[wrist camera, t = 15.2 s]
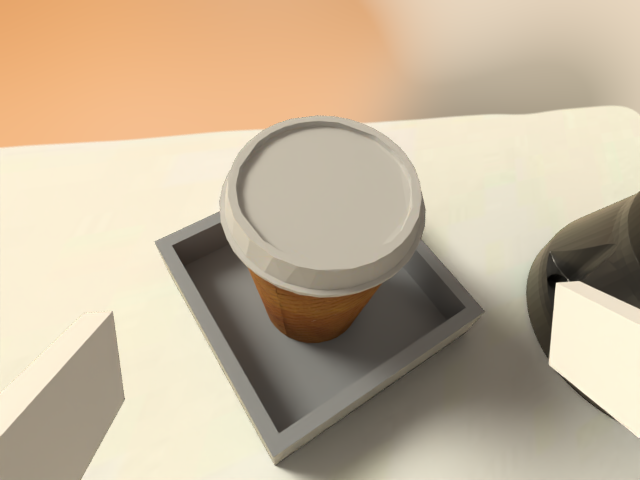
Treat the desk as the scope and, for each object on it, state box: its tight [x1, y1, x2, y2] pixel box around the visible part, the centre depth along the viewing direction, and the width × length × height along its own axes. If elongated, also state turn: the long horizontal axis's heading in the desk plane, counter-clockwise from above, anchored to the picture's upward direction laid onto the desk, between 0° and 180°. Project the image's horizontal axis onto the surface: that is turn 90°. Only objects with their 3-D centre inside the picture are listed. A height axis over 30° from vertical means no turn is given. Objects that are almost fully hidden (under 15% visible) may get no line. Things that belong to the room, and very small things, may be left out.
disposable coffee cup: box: [219, 116, 425, 343], centre depth 25 cm, size 10×10×12 cm
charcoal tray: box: [155, 211, 485, 465], centre depth 30 cm, size 15×15×4 cm
